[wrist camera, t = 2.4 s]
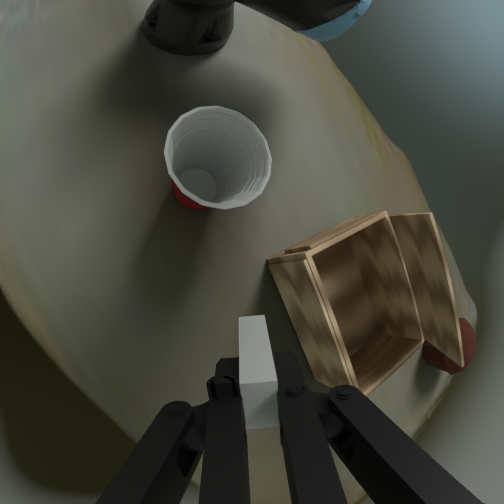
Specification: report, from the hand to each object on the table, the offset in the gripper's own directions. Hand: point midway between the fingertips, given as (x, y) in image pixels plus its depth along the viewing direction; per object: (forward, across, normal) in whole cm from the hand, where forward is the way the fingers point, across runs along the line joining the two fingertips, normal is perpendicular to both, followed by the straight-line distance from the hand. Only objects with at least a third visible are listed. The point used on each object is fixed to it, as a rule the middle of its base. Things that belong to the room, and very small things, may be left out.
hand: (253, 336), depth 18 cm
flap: (+18, +22, -5) cm, 29 cm away
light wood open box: (+25, +12, -9) cm, 29 cm away
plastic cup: (+23, -5, +9) cm, 26 cm away
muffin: (+30, +38, -24) cm, 54 cm away
